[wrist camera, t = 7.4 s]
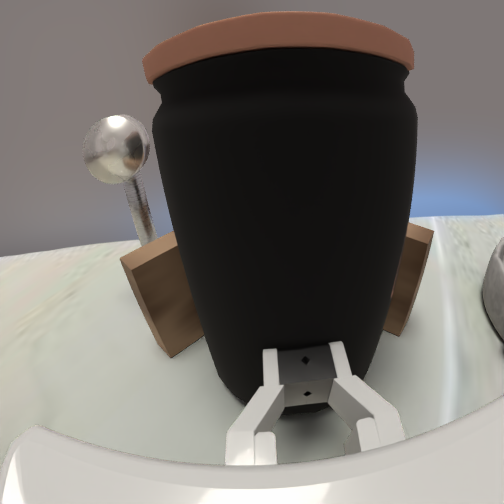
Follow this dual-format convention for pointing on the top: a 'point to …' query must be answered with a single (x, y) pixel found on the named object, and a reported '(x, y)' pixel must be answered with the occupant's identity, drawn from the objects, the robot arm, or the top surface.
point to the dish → (495, 288)
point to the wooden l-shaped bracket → (183, 308)
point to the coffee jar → (286, 181)
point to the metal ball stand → (122, 164)
